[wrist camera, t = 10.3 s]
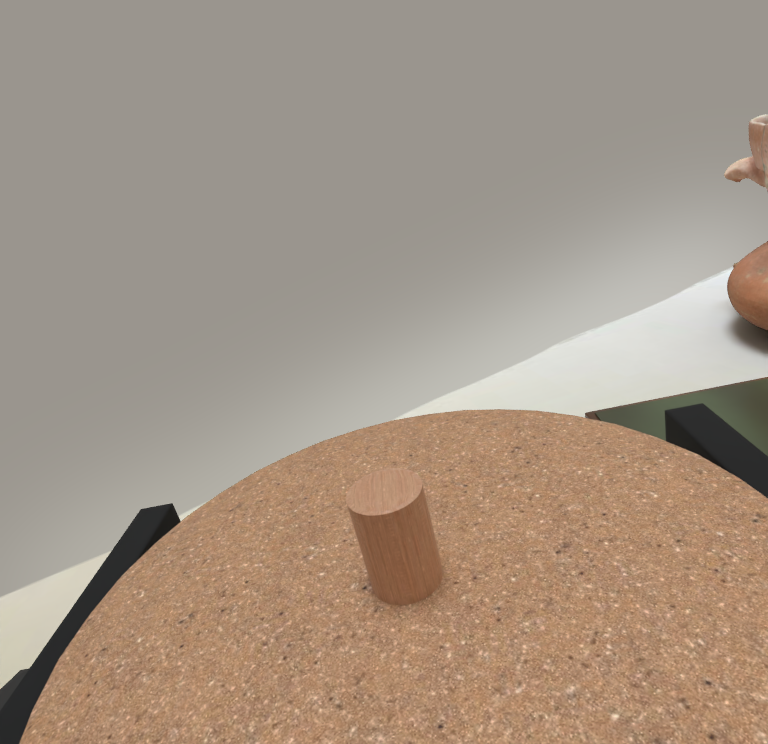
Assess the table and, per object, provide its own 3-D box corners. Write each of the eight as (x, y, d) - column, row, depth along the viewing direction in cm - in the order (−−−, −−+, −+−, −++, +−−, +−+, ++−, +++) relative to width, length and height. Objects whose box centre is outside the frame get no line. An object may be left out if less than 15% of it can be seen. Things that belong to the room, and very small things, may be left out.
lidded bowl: (637, 618, 15) (616, 298, 12) (1155, 1489, 5) (1964, 1048, 2) (269, 690, 16) (145, 405, 12) (105, 1606, 6) (-762, 1429, 2)
